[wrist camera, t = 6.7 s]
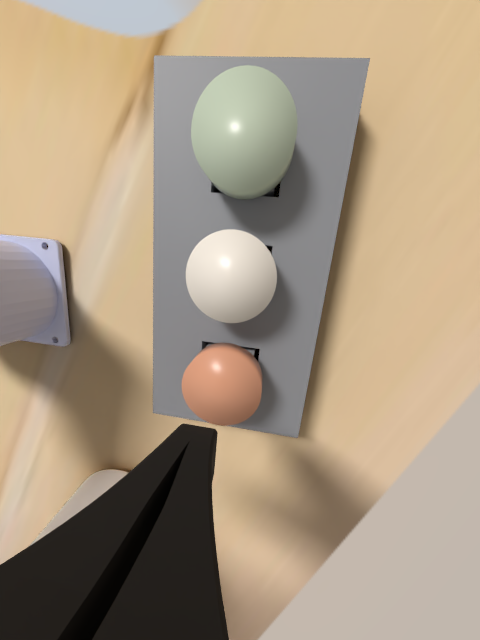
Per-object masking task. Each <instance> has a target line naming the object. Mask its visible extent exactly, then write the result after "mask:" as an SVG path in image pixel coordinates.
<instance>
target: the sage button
mask: <svg viewBox="0 0 480 640" xmlns="http://www.w3.org/2000/svg"><path fill="white" fill-rule="evenodd" d="M296 136H297V113H296V107H295V104H294V100H293V98H292V96H291V93H290V92H289V90H288V88H287V87H286V85H285V84H284V83H283V82H282V80H281V79H279V78H278V77H277V76H276V75H275V74H273V73H272V72H270V71H269V70H266V69H264V68H262V67H258V66H251V65H244V66H237V67H233V68H231V69H228V70H226V71H224V72H223V73H221V74H219V75H218V76H217V77H216V78H214V79H213V80H212V81H211V82H210V83H209V84H208V85H207V87H206V88H205V89H204V91H203V92H202V94H201V96H200V97H199V99H198V102H197V104H196V107H195V110H194V113H193V118H192V124H191V140H192V146H193V150H194V154H195V156H196V159H197V161H198V163H199V165H200V167H201V168H202V170H203V171H204V173H205V174H206V175H207V177H208V178H209V179H210V181H211V182H212V183H213V185H214V186H215V187H216V188H217V189H218V190H219V191H220V192H221V193H224V194H225V195H228V196H230V197H232V198H236V199H254V198H257V197H260V196H267V197H274V191H275V187H276V186H277V185H278V184H279V183H280V181H281V180H282V179H283V177H284V176H285V174H286V172H287V170H288V168H289V166H290V163H291V160H292V156H293V151H294V146H295V141H296Z"/></svg>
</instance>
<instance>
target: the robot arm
mask: <svg viewBox="0 0 480 640" xmlns="http://www.w3.org/2000/svg"><path fill="white" fill-rule="evenodd" d="M47 244H48V248H47ZM57 339H58V340H57ZM19 340H21V341H28V342H35V343H41V344H48V345H55V346H61V347H64V346H67V345H69V344H70V341H71V339H70V328H69V317H68V306H67V295H66V284H65V273H64V262H63V252H62V245H61V244H60V242H59V241H57V240H52V239H42V238H32V237H22V236H12V235H2V234H0V346H2V345H6V344H9V343H12V342H15V341H19ZM216 444H217V431H216V430H215V429H212V428H206V427H200V426H194V425H189V424H181V425H180V426H179V427H178V428H177V429H176V430H175V431H174V432H173V433H172V434H171V435H170V436H169V437H168V438H167V439H166V440H165V441H163V442H162V443H161V444H160V445H159V446H158V447H157V448H156V449H155V450H154V451H153V452H152V453H151V454H149V455H148V456H147V457H146V458H145V459H144V460H143V461H142V462H141V463H139V464H138V465H137V466H136V467H135V468H134V469H133V470H131V471H130V472H129V473H128V474H127V475H125V476H124V477H123V478H122V479H121V480H119V481H118V482H117V483H116V484H114V485H113V486H112V487H111V488H110V489H108V490H107V491H106V492H105V493H103V494H102V495H101V496H99V497H98V498H97V499H96V500H94V501H93V502H92V503H90V504H89V505H88V506H86V507H85V508H84V509H82V510H81V511H80V512H78V513H77V514H75V515H74V516H73V517H71V518H70V519H68V520H67V521H66V522H64V523H63V524H61V525H60V526H58V527H57V528H56V529H54V530H53V531H51V532H50V533H48V534H47V535H45V536H44V537H42V538H41V539H39V540H38V541H36V542H35V543H33V544H32V545H30V546H29V547H27V548H26V549H24V550H23V551H21V552H20V553H18V554H17V555H15V556H14V557H12V558H10V559H9V560H7V561H6V562H4V563H3V564H1V565H0V640H229V638H228V631H227V625H226V619H225V612H224V606H223V600H222V593H221V586H220V578H219V570H218V562H217V553H216V544H215V534H214V522H213V506H212V480H213V475H214V467H215V455H216Z"/></svg>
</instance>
